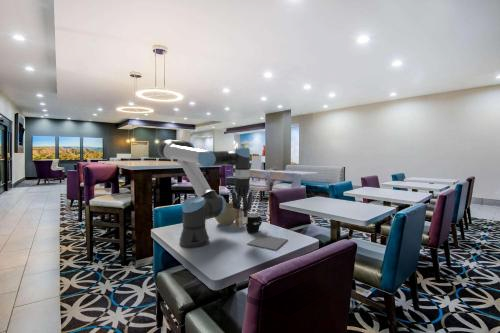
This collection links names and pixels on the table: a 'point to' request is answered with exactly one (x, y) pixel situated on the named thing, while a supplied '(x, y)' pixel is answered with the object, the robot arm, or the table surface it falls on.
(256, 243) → the mat
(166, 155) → the robot arm
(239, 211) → the tile
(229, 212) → the flower pot
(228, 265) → the table surface
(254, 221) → the mug
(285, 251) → the table surface
